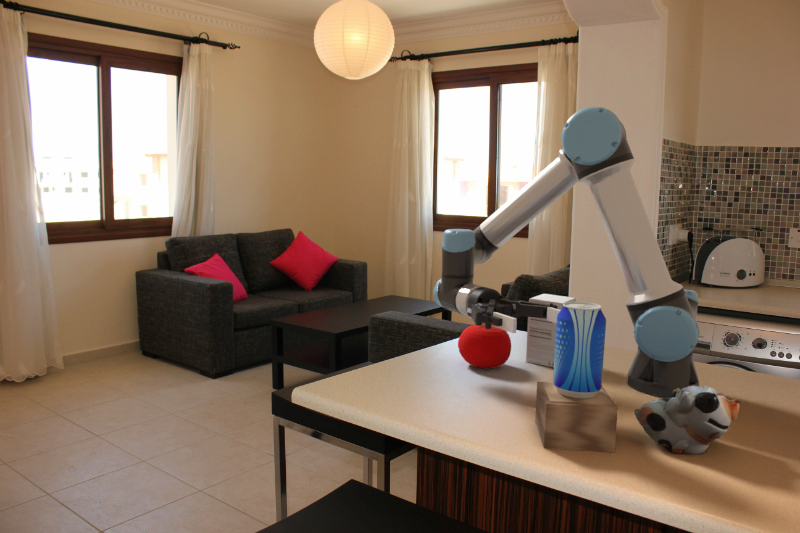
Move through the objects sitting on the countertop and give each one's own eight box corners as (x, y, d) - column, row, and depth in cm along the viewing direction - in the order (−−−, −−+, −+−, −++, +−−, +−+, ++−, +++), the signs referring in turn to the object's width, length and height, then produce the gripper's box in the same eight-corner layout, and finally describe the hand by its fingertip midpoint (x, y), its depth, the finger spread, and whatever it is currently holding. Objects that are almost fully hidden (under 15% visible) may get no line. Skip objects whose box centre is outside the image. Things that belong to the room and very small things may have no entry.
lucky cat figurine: (681, 423, 120) (726, 370, 114) (718, 473, 110) (768, 417, 104) (620, 408, 115) (663, 352, 109) (652, 458, 105) (701, 399, 99)
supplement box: (539, 354, 167) (543, 292, 165) (572, 360, 162) (576, 297, 160) (524, 362, 160) (528, 297, 158) (559, 369, 154) (563, 302, 152)
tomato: (499, 376, 147) (501, 331, 146) (450, 367, 154) (451, 323, 152) (517, 364, 157) (520, 322, 156) (470, 356, 164) (472, 315, 162)
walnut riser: (598, 425, 118) (601, 383, 117) (614, 452, 106) (618, 406, 105) (534, 421, 119) (537, 380, 118) (543, 448, 107) (546, 402, 106)
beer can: (603, 402, 107) (610, 311, 105) (553, 397, 109) (559, 308, 106) (597, 386, 115) (603, 302, 113) (551, 383, 117) (556, 299, 115)
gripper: (524, 315, 144) (590, 336, 125) (431, 324, 132) (489, 348, 114) (525, 283, 143) (593, 299, 124) (432, 289, 131) (490, 308, 113)
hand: (543, 323), depth 119 cm, fingers open, 13 cm apart
